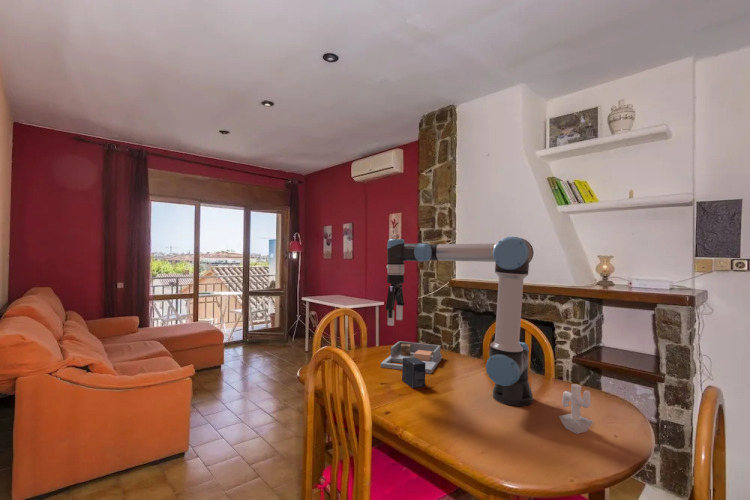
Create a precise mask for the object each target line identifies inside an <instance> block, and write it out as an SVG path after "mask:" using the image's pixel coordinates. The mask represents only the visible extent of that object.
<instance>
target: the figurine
mask: <svg viewBox="0 0 750 500" xmlns="http://www.w3.org/2000/svg"><path fill="white" fill-rule="evenodd" d="M570 387H571V389H570V391H567V390H565V391H563V393H562V407H564V408H568V407H570V408H571V409H570V413H566V414H563V415H559V416H558V418H559V419H560V421H561V423H562V425H563V426H564V429H566V430H568V431H570V432H572V433H574V434H575V435H579V434H582V433H587V431H588V430H589V429H590V427H591V426H592V425H593V423H594V421H593V420H591V419H589V418H586V417H584V416H582V415H581V413H582V411H581V409H582V408H581V407H583V408H584V409H585V408H586V409H588V408H589V407H591V391H590V390H584V391H583V393H582V386H581V385H580V384H576V383H572V384H571V385H570ZM582 394H583V395H582ZM570 403H571V404H570Z"/></svg>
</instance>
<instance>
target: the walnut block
mask: <svg viewBox="0 0 750 500" xmlns="http://www.w3.org/2000/svg"><path fill="white" fill-rule="evenodd" d="M401 355H408V356H410V344H401Z"/></svg>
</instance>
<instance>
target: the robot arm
mask: <svg viewBox="0 0 750 500" xmlns="http://www.w3.org/2000/svg"><path fill="white" fill-rule="evenodd" d="M386 251H387V252H386V253H387V254H386V255H387V257H386V258H387V259H386V260H387V265H386V269H387V270H386V271H387V273H386V274H387V275H386V283H387V284H390V285H389V286H388V288H387V289H388V291H387V299H386V303H385V304H386V306H385V307H384V308H385V310H386V311H387V326H392V327H393V326H395V316H396V321H403V314H404V313H403V312H404V311H403V309H404V307H403V306H405V300H404V299H405V298H404V292H403V284H404V283H405V275H404V274H405V262H406V261H407V262H420V263H421V262H429V261H431V262H434V261H435V262H436V261H437V262H439V261H440V262H443V261H445V262H483V263H484V262H486V263H493V262H494V263H495V266H494V273H495V274H496V275H497V277H498V284H497V285H498V286H497V301H496V303H497V304H496V315H495V316H496V317H495V330H494V340H493V341H492V342H491V343H490V346H489V358H487V360H486V364H485V370H486V374H487V376H488V377H489V379H491V381H492V382H493V383H495V384H494V386H493V389H492V397H493V399H495V401H497V402H499V403H501V404H505V405H508V406H515V407H517V406H518V407H524V406H529V405H531V404H533V401H534V395H533V392H532V388H531V386H530V383H529V353H530V350H529V345H528V344H527V343H526V342H523V341H520V337H521V322H522V321H521V319H522V308H523V306H522V305H523V292H524V279H525V278H526V277H527V276H529V272H530V271H529V270H530V263H531V262H532V260H533V257H534V247H533V245H532V244H531V243H530V242H529V241H528V240H527V239H524V238H522V237H518V236H506V237H504V238H502V239H499V240H498V241H497V242H496V243H423V242H420V243H418V242H417V243H405V240H404V239H403V238H396V239H395V238H390V239H388V240H387V246H386ZM395 303H396V305H395ZM395 306H396V312H395V310H394V309H395ZM395 314H396V315H395Z"/></svg>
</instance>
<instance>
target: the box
mask: <svg viewBox="0 0 750 500" xmlns="http://www.w3.org/2000/svg"><path fill="white" fill-rule="evenodd" d="M425 364H426V363H424V362H423V361H421V360H419V359H417V358H416V357H409V358H403V363H402V365H403V370H401V371H402V374H401V379H402V380H401V381H402V382H403V383H405V384H406V385H408V386H409V387H410V388H411V389H415V388H424V387H426V373H425Z"/></svg>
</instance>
